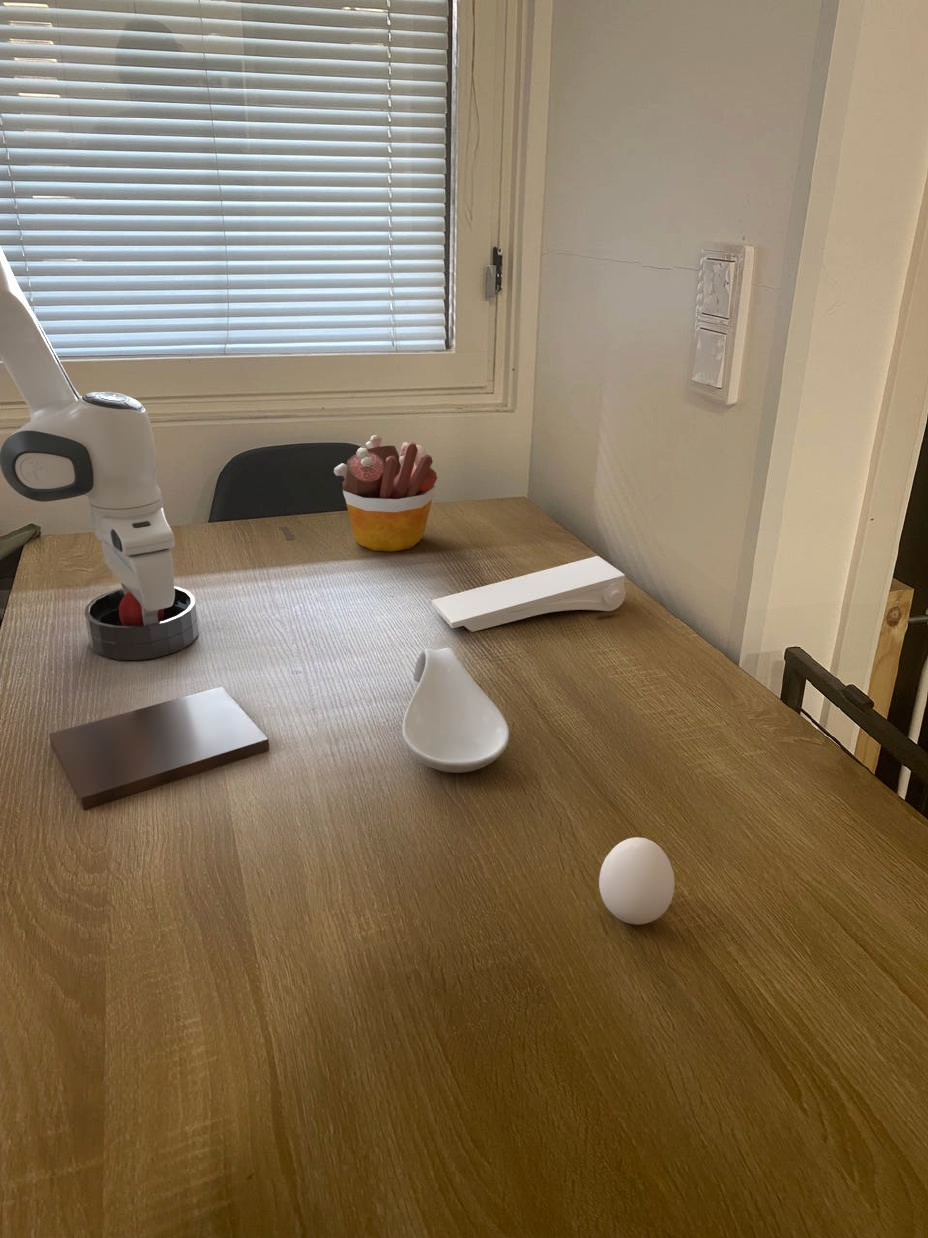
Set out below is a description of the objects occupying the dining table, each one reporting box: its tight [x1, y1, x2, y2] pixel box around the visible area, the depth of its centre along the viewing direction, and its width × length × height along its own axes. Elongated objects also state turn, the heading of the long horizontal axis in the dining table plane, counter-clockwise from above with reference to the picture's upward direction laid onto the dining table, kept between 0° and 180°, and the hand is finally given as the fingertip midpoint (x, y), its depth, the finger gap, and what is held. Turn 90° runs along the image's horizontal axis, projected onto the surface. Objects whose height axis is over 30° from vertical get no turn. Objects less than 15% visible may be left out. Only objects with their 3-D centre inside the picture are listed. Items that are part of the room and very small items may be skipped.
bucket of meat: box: [333, 434, 438, 552], centre depth 158 cm, size 20×16×20 cm
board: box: [48, 686, 270, 811], centre depth 101 cm, size 20×14×2 cm
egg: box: [598, 836, 676, 926], centre depth 78 cm, size 6×6×8 cm
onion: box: [119, 591, 164, 626], centre depth 124 cm, size 6×6×8 cm
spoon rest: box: [401, 647, 510, 774], centre depth 105 cm, size 24×12×7 cm, turn 11°
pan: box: [84, 586, 199, 661], centre depth 125 cm, size 14×14×5 cm
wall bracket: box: [431, 555, 627, 633], centre depth 137 cm, size 10×7×28 cm
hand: (142, 616), depth 124 cm, fingers closed on onion, 6 cm apart
